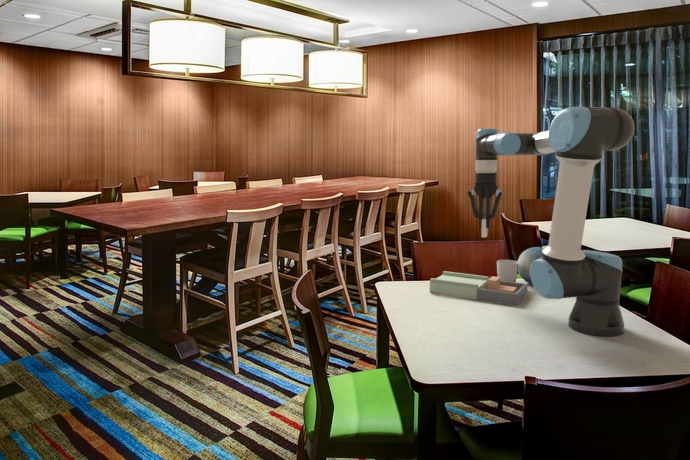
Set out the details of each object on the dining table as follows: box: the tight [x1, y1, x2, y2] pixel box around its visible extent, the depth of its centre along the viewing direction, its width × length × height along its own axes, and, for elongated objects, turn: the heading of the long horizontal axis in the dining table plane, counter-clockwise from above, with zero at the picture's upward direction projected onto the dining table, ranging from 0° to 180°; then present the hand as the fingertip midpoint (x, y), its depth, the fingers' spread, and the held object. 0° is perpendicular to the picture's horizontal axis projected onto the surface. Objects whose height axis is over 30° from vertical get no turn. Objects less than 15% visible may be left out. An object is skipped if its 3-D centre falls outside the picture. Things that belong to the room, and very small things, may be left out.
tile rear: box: [488, 275, 500, 291], centre depth 191 cm, size 6×6×3 cm
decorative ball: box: [517, 246, 544, 285], centre depth 206 cm, size 15×15×15 cm
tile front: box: [496, 285, 517, 293], centre depth 189 cm, size 6×6×3 cm
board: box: [429, 270, 490, 300], centre depth 198 cm, size 15×18×5 cm
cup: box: [496, 259, 519, 283], centre depth 203 cm, size 8×8×10 cm
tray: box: [476, 281, 528, 306], centre depth 189 cm, size 16×14×4 cm
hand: (484, 236), depth 191 cm, fingers closed
